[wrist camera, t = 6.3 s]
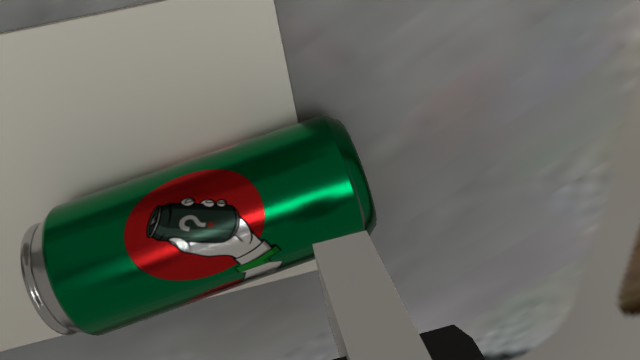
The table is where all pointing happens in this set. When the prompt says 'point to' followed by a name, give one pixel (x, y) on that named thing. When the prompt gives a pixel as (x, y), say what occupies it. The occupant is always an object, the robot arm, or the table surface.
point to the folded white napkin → (126, 113)
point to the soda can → (195, 228)
